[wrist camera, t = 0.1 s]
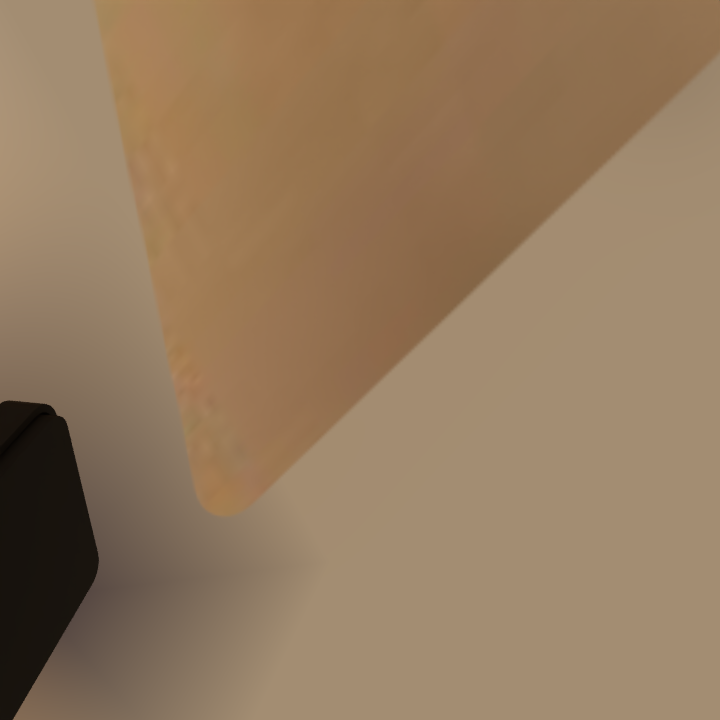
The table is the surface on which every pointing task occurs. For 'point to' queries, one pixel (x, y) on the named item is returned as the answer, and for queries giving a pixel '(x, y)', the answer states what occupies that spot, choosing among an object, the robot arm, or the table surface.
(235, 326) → the table surface
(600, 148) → the table surface
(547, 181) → the table surface
